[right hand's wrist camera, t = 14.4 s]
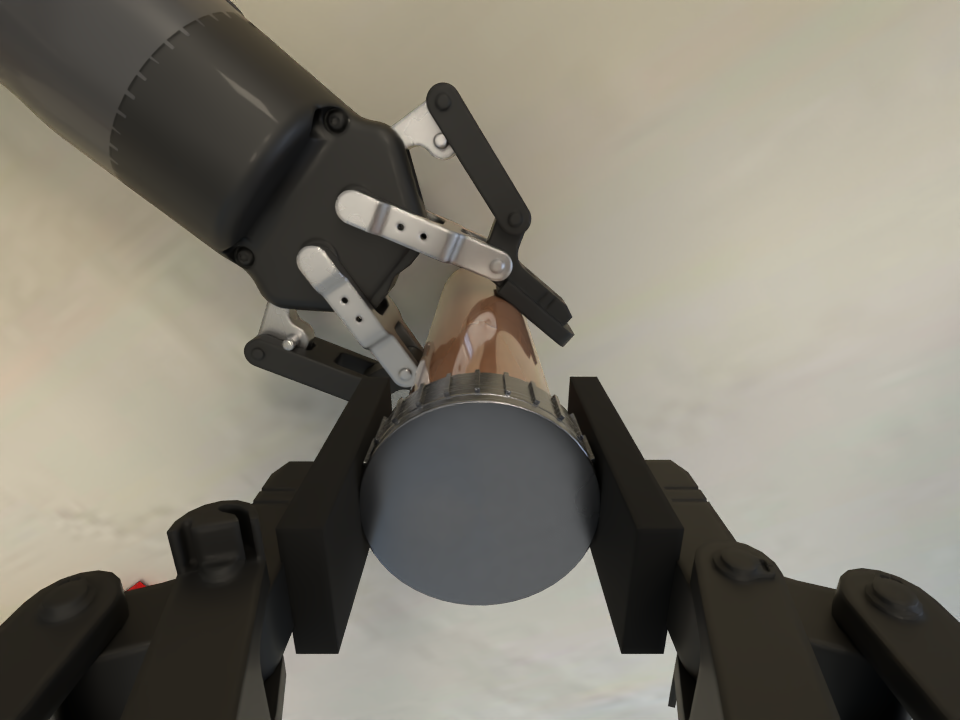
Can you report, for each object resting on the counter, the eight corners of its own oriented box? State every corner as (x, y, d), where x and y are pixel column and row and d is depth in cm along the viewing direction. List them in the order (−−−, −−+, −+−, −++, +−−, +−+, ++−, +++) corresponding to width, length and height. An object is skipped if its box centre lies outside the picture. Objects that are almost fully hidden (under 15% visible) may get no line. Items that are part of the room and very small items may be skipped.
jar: (533, 307, 28) (614, 506, 11) (473, 353, 29) (465, 599, 12) (486, 246, 27) (496, 365, 10) (425, 295, 28) (341, 480, 11)
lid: (405, 336, 11) (394, 361, 10) (627, 411, 12) (648, 445, 10) (344, 525, 13) (326, 572, 11) (541, 582, 13) (548, 632, 12)
